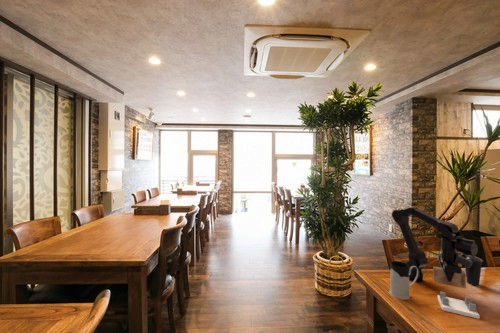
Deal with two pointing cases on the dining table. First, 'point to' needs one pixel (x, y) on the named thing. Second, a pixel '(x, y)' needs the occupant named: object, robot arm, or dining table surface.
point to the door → (440, 277)
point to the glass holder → (400, 280)
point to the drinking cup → (474, 271)
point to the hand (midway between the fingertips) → (448, 280)
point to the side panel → (458, 305)
